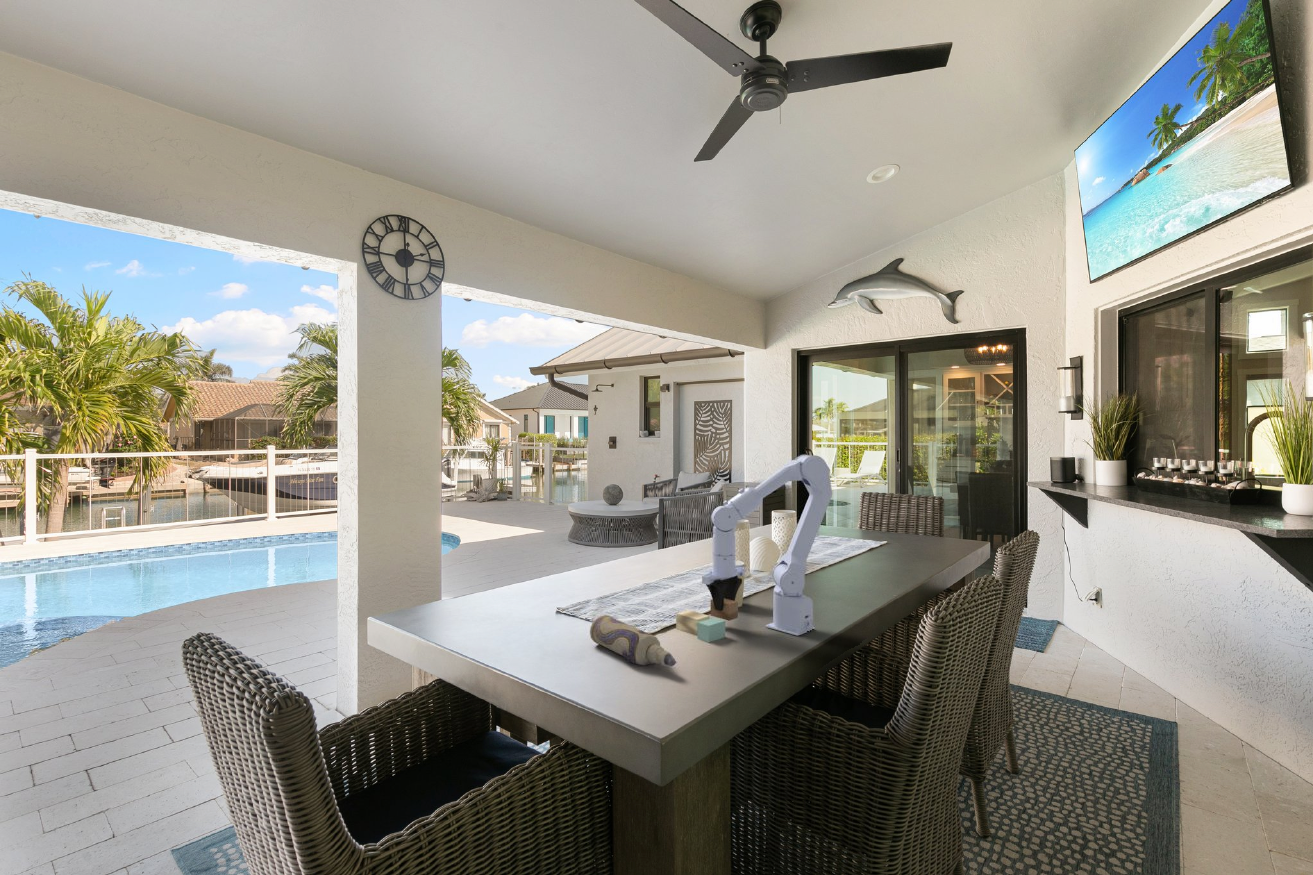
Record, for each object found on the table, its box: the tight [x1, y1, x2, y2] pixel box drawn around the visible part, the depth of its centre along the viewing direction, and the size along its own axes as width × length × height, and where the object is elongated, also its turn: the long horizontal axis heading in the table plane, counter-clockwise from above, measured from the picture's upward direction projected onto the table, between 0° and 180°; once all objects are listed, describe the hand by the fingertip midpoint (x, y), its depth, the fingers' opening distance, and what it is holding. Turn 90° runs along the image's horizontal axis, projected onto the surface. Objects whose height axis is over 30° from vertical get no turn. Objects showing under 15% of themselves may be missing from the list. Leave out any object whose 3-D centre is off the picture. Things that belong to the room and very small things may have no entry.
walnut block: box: [710, 598, 739, 622], centre depth 150 cm, size 6×4×4 cm, turn 44°
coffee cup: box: [721, 559, 747, 608], centre depth 172 cm, size 9×9×12 cm
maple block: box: [675, 609, 710, 636], centre depth 148 cm, size 7×4×4 cm, turn 44°
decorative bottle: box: [589, 614, 677, 667], centre depth 128 cm, size 26×8×7 cm, turn 38°
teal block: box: [696, 617, 726, 643], centre depth 143 cm, size 6×4×4 cm, turn 133°
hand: (724, 608), depth 150 cm, fingers closed on walnut block, 3 cm apart
